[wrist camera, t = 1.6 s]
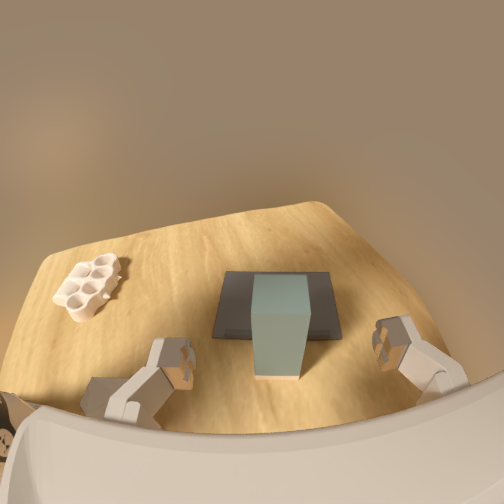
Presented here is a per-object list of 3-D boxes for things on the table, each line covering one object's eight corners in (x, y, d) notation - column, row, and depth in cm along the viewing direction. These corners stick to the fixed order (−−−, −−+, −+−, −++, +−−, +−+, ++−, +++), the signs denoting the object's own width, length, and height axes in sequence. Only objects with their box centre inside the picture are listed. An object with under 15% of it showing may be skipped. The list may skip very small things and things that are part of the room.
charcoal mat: (212, 337, 42) (211, 333, 41) (225, 272, 55) (225, 267, 54) (341, 339, 41) (343, 334, 40) (328, 272, 54) (329, 268, 53)
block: (254, 379, 36) (250, 313, 28) (257, 345, 41) (254, 274, 33) (298, 379, 36) (310, 313, 27) (297, 345, 40) (306, 274, 32)
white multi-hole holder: (86, 263, 60) (135, 265, 58) (49, 317, 45) (101, 327, 44) (81, 252, 58) (131, 252, 56) (41, 305, 43) (94, 314, 42)
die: (167, 413, 32) (129, 355, 31) (146, 455, 23) (95, 389, 23) (125, 421, 33) (89, 368, 32) (100, 456, 24) (55, 397, 24)
